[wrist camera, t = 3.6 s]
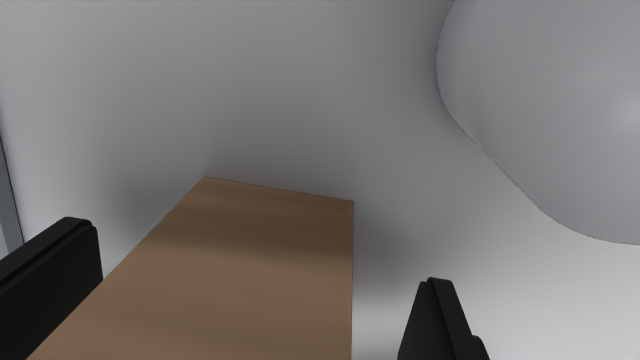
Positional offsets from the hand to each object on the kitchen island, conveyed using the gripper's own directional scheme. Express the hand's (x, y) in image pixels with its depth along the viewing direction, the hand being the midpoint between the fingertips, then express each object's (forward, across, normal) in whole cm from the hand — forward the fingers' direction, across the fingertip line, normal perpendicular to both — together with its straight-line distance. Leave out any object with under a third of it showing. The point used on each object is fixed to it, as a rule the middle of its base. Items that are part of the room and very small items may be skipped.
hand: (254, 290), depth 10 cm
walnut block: (+2, 0, 0) cm, 2 cm away
